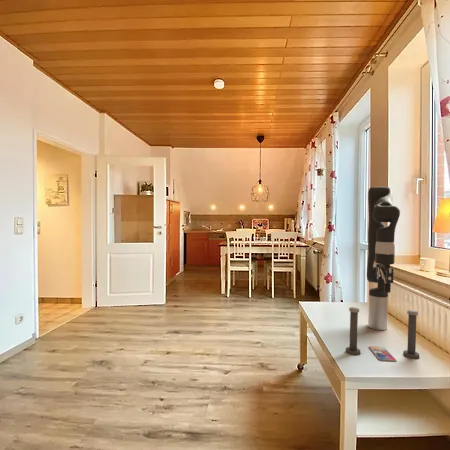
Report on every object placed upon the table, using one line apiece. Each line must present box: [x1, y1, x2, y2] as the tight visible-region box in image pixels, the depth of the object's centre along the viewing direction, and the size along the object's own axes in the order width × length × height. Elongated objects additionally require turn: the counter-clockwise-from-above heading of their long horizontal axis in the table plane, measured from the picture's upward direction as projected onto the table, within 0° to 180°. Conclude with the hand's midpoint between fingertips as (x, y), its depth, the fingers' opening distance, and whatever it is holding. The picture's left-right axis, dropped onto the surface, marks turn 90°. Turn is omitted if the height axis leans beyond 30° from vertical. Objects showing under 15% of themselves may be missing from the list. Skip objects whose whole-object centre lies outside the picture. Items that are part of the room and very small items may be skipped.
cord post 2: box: [402, 309, 420, 360], centre depth 145 cm, size 6×6×19 cm
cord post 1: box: [345, 306, 361, 356], centre depth 147 cm, size 6×6×19 cm
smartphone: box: [368, 345, 398, 363], centre depth 146 cm, size 7×1×15 cm
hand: (383, 290), depth 146 cm, fingers open, 8 cm apart
